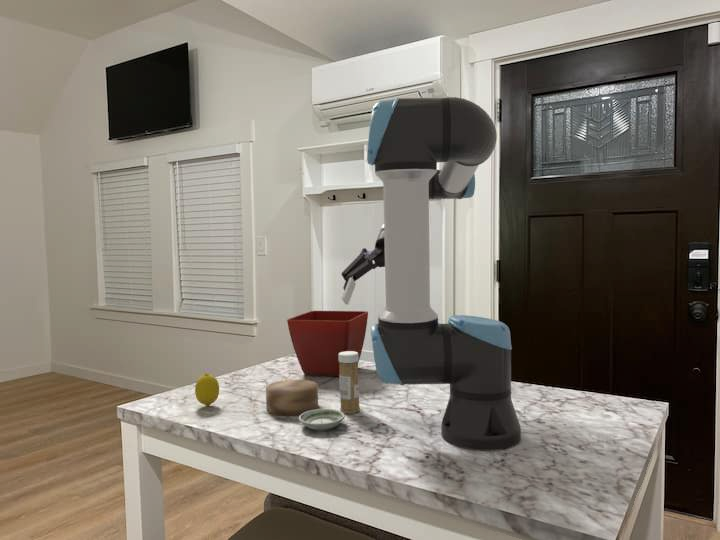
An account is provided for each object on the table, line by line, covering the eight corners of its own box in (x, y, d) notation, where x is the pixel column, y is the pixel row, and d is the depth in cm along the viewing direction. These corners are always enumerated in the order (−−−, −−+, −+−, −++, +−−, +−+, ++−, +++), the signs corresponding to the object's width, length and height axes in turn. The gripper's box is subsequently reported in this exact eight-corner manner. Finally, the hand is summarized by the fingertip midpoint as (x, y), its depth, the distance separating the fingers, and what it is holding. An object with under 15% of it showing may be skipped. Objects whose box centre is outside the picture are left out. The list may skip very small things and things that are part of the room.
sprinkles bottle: (363, 411, 120) (362, 353, 119) (345, 415, 118) (344, 355, 117) (353, 406, 124) (352, 349, 123) (336, 410, 122) (334, 352, 121)
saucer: (335, 416, 118) (335, 405, 118) (351, 431, 109) (351, 419, 109) (293, 422, 114) (293, 411, 114) (306, 438, 105) (306, 426, 105)
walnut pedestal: (328, 404, 126) (328, 383, 126) (294, 419, 116) (293, 396, 116) (290, 397, 133) (290, 377, 132) (255, 410, 123) (254, 388, 123)
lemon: (213, 410, 123) (211, 376, 123) (191, 409, 124) (189, 376, 124) (223, 403, 129) (222, 370, 128) (202, 402, 130) (201, 370, 129)
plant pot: (287, 377, 153) (285, 318, 152) (313, 362, 171) (312, 310, 170) (350, 381, 147) (348, 320, 146) (370, 365, 165) (369, 311, 164)
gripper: (441, 247, 138) (421, 315, 126) (355, 246, 149) (330, 308, 138) (434, 227, 133) (413, 296, 121) (346, 228, 144) (319, 291, 132)
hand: (369, 303), depth 129 cm, fingers open, 13 cm apart
